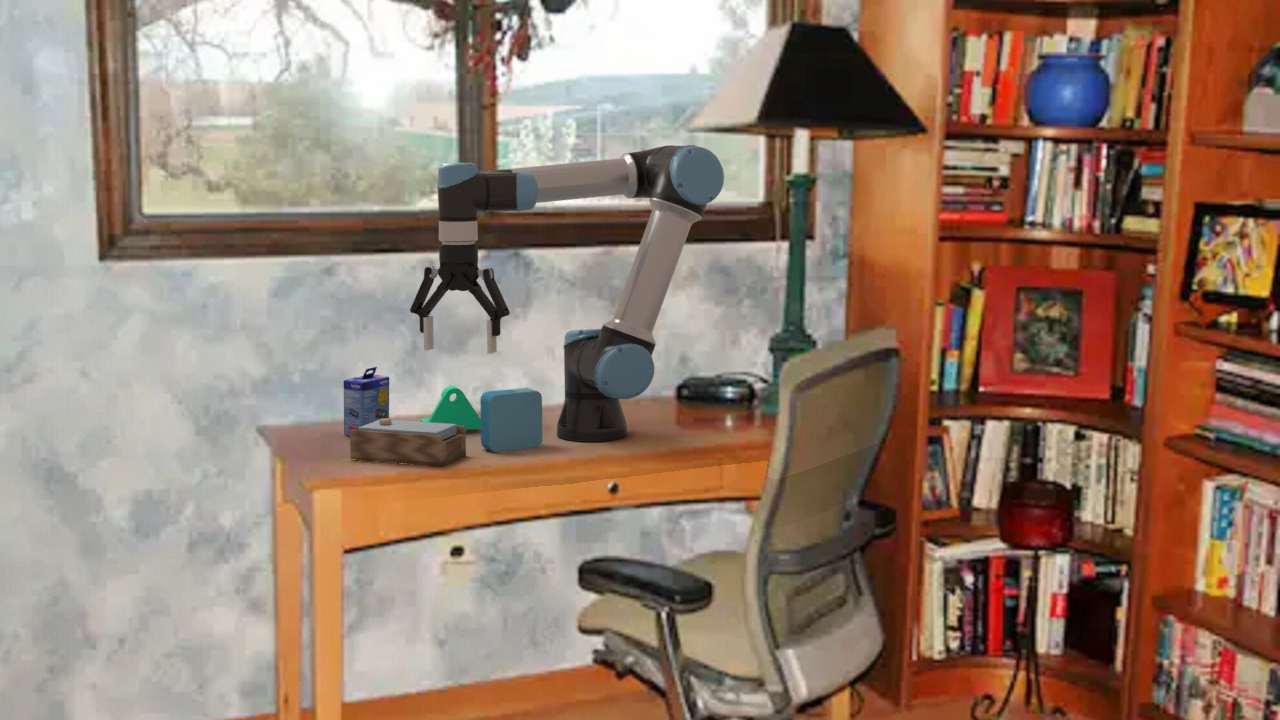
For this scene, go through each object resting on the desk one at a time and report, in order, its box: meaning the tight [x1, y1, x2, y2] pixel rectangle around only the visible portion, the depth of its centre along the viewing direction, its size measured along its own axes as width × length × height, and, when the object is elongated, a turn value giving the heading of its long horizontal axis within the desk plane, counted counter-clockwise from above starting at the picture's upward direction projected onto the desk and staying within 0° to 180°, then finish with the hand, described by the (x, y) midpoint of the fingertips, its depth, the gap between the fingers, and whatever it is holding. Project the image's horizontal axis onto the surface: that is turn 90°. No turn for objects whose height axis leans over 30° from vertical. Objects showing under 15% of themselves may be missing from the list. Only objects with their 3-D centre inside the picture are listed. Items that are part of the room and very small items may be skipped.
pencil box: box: [349, 420, 467, 468], centre depth 307 cm, size 20×11×6 cm, turn 72°
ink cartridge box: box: [343, 366, 390, 437], centre depth 331 cm, size 10×6×14 cm, turn 152°
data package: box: [479, 387, 543, 454], centre depth 316 cm, size 12×4×12 cm, turn 121°
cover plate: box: [359, 417, 457, 440], centre depth 307 cm, size 17×9×3 cm, turn 72°
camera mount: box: [420, 385, 481, 432], centre depth 334 cm, size 12×8×10 cm, turn 110°
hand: (460, 351), depth 301 cm, fingers open, 13 cm apart
